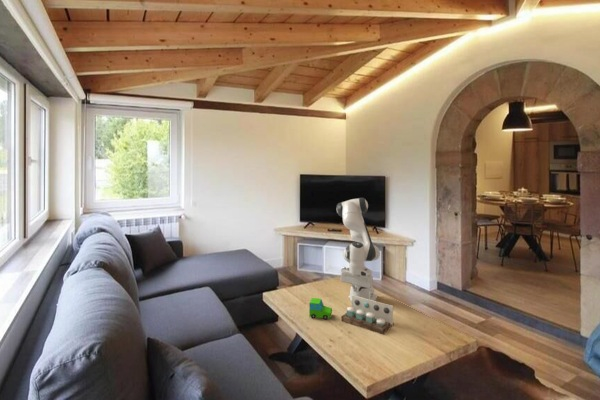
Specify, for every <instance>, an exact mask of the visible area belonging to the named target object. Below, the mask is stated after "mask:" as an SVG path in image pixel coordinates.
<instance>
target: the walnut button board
mask: <svg viewBox="0 0 600 400" xmlns="http://www.w3.org/2000/svg"><path fill="white" fill-rule="evenodd" d="M340 320H341V322H342V323H346V324H349V325H352V326H355V327H358V328H360V329H364V330H366V331H367V330H368V331H371V332H374V333H378V334H381V335H384V334H385V333H386V332H387V331H389V330H390V328H391V327H390V323H389V322H385V325H384V326H383V327H381V326H378V325H376V323H377V322H376V321H377V319H375V321H374V322H373V323H370V322H366V316H365V318H364V319H363V320H360V319H356V313H355V315H354V316H353V317H350V316H347V312H346V313H344V314H343V315H341V317H340Z"/></svg>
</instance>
